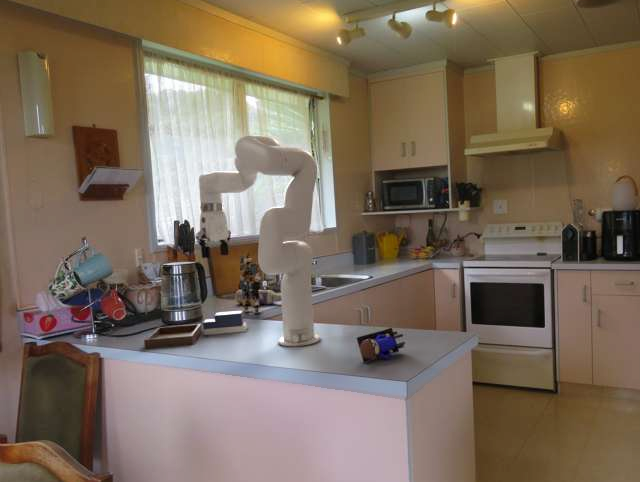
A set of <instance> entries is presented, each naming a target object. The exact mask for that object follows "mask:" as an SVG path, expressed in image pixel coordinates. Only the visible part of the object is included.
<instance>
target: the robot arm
mask: <svg viewBox="0 0 640 482" xmlns="http://www.w3.org/2000/svg"><path fill="white" fill-rule="evenodd" d="M234 152H235V153H234V154H235V158H234V165H235V169H236V170H237V171H226V170H225V171H223V170H222V171H221V170H220V171H219V170H216V171H211V172H209V173H202V174H200V175H199V177H198V186H199V187H198V188H199V199H200V200H199V201H200V207H199V208H200V212H201V213H200V217H199V231H197V232H196V234H195V235H194V236H195V239H196V241H197V243H198V245H199V247H200V251H201V252H200V253H201V258H202V259H209V258H211V251H210V246H209V244H210V242H211V241H219V243H220V244H219V249H220V250H219V251H220V255H221V256H229V255H230V254H229V244H230V240H231V235H232V231H231V230H229V227H228V226H229V225H228V220H227V215H226V212H225V211H224V204H223V194H240V193H242V192H243V193H244V192H245V191H247V190H249V189H250V188H251V187H253V186H254V185H255V184H256V181H257V179H258V174H259V173H260V174H262V175H265V176H276V177H277V176H279V177H280V176H283V177H284V176H287V177H291V179H290V181H289V182H288V183H287V186H286V189H285V191H284V201H283V205H282V206H273V207H270V208H268V209H266V210H265V211H264V212H263V214H262V216H261V218H260V222H259V232H258V233H259V234H258V246H257V247H258V248H257V261H258V262H257V263H258V265H259V268H260V270H261V272H262V273H264V274H265V275H267V276H276V275H282V279H281V282H280V294H281V301H280V302H281V316H282V318H281V319H282V331H283V333H282V334H283V336H281V337H280V338H279V339H278V344H279V345H281V346H284V347H303V346H308V345H313V344H316V343H318V342H319V341H320V335H318V334H316V333H315V324H314V306H313V293H312V292H313V290H312V288H313V287H312V269H313V261H314V255H313V250H312V247H311V245H309V244H308V243H307V242H305V241H303V240H287V241H285V239H294V238H301V237H304V236H306V235H307V234H309V232H310V230H311V229H310V228H311V224H312V215H313V214H312V213H313V203H314V191H315V187H316V183H317V178H318V164H317V161H316V159H315V158H314V156H313V155H312V153H310V152H309V151H307V150H305V149H302V148H298V147H287V146H281V144H280V142H278V140H276V139H275V138H273V137H271V136H267V135H256V134H245V135H243V136H241V137H240V138H239V139H237V141H236V143H235V144H234Z"/></svg>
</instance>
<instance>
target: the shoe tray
mask: <svg viewBox="0 0 640 482" xmlns="http://www.w3.org/2000/svg"><path fill="white" fill-rule="evenodd" d="M202 332H203V330H202V323H195V324H183V325H170V326H161V327H159V326H158V327H157V328H156V329H155V330H153V332H152V333H151V334H149V335H148V336H147V337H146V338H145V339H144V341H143V342H144V343H143V344H144V349H145V350H147V349H157V348H158V349H159V348H169V347H180V346H190V345H194V344H195V342H196V341H197V339H198V338H199V336H200V335H201V333H202Z"/></svg>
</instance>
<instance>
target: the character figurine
mask: <svg viewBox="0 0 640 482" xmlns="http://www.w3.org/2000/svg"><path fill="white" fill-rule="evenodd" d="M403 337H404V334H402V333H400V334H398V331H397V330H396V331H393V327H389V328H387V329H383V330H379V331H376V332H373V333H368V334H365V335H361V336H357V337H356V341H357V345H358V348H359V352H360V354H361V358H362V362H363V363H367V362H369V361H373V360H377V359H380V358H382V359H384V360H386V361H387V360H388V359H389V357H391V355H392V354H396V353H399V352H400V350H399V349H403V348H405V344H406V342H405V341H401V342H398V343H397V339H400V338H403Z"/></svg>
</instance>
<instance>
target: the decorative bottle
mask: <svg viewBox="0 0 640 482" xmlns="http://www.w3.org/2000/svg"><path fill="white" fill-rule="evenodd" d="M250 291H251V290H250ZM258 291H259V299H258V301H259V302H260V305H266V306H269V305H273V304H274V303H278V302H281V293H278V292H277V293H276V292H275V291H274V290H272V289H271V290H269V289H259V290H258ZM244 293H245V292H244ZM252 294H253V293H252ZM234 297H235V302H236V303H237V304H239V305H243V302H242V301H243V300H245V298H243V295H242V290H240V289H238V290H237V291H236V292H235V295H234ZM248 297H249V296H248ZM248 300H249V301H250V305H251V302H254V301H255V300H253V299H252V298H251V296H250V298H249V299H248ZM246 304H249V303H246Z"/></svg>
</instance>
